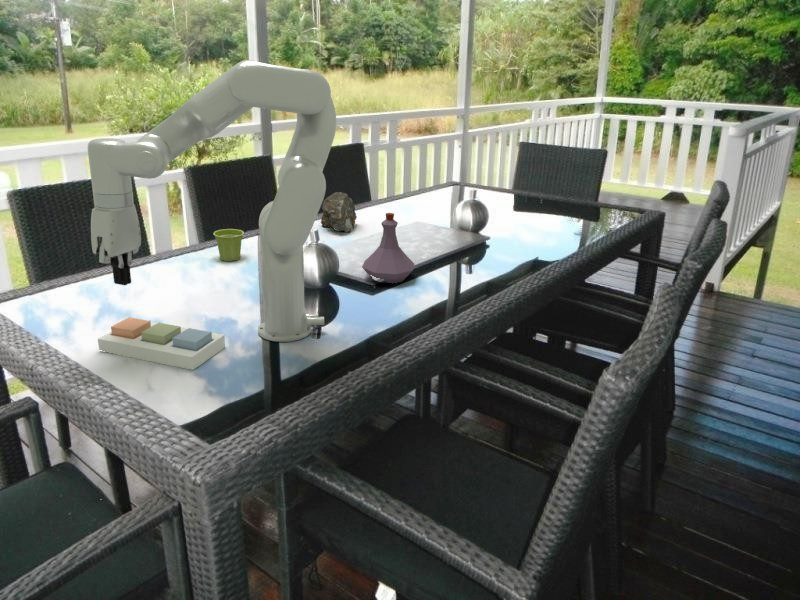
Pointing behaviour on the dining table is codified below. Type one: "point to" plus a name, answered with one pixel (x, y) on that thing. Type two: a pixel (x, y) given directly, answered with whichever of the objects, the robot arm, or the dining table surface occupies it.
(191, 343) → the slate blue key
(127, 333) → the terracotta key
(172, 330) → the olive key
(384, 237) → the flask
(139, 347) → the keypad
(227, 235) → the plant pot
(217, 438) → the dining table surface
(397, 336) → the dining table surface
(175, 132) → the robot arm
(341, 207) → the rock
